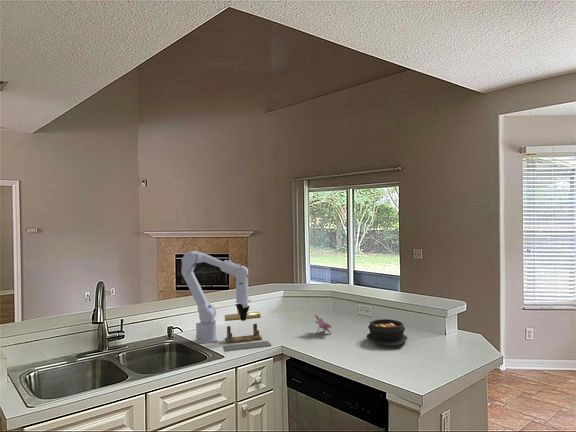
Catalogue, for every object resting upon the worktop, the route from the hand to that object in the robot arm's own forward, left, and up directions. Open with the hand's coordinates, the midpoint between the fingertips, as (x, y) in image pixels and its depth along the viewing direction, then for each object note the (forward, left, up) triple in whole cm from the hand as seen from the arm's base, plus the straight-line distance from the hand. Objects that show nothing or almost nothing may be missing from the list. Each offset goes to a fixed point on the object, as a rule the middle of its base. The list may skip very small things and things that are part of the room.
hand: (242, 319), depth 203 cm
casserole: (+63, -26, -10) cm, 69 cm away
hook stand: (0, 0, -10) cm, 10 cm away
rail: (0, 0, +2) cm, 2 cm away
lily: (+39, -4, -10) cm, 41 cm away
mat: (0, -11, -10) cm, 14 cm away
